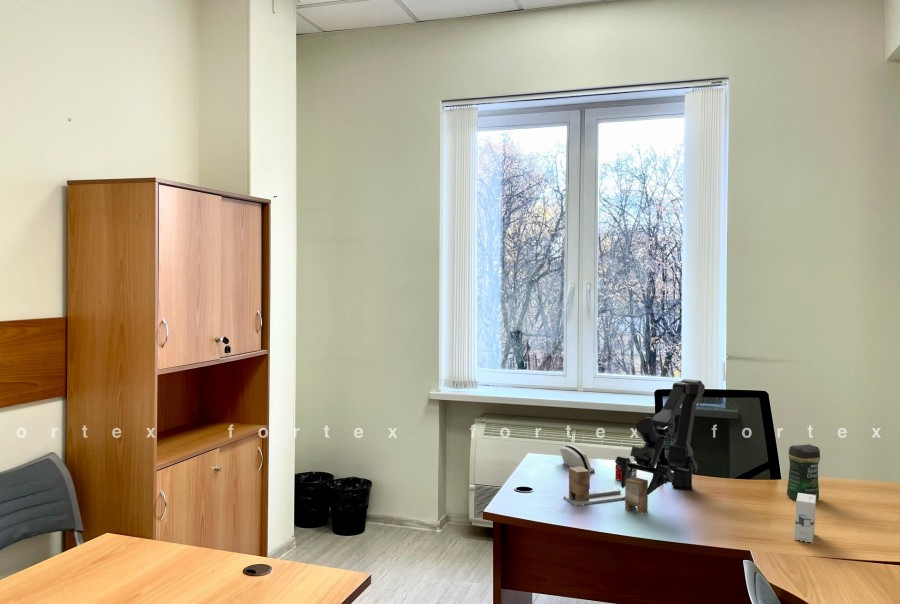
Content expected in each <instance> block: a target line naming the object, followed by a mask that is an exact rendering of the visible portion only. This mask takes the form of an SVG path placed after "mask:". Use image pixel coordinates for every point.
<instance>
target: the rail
mask: <svg viewBox="0 0 900 604" xmlns="http://www.w3.org/2000/svg"><path fill="white" fill-rule="evenodd" d="M606 490H607V489H606ZM606 490H599V491H600V492H598V491H593V492H592V491H591V492H592V493H590V492H589V498H593V497H601V496H608V495H616V494H622V492H621V491H622V490H621V489H619V488H616V489H608V490H607V491H606ZM568 495H569V494H568ZM569 499H570V500H575V495H569Z"/></svg>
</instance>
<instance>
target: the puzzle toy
mask: <svg viewBox="0 0 900 604" xmlns="http://www.w3.org/2000/svg"><path fill="white" fill-rule="evenodd" d="M637 472H638V470H636V469H633V470H632V472H630V473H631V474H632V475H631V476H630V477H636V478H638V476H637V474H638V473H637ZM614 475H615V480H616V479H619V480H621V478H622V472H621V470H620V469H619V467H618V466H617V464H616V463H615V474H614ZM619 480H618V481H619Z"/></svg>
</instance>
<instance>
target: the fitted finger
mask: <svg viewBox="0 0 900 604" xmlns="http://www.w3.org/2000/svg"><path fill="white" fill-rule="evenodd" d="M590 483H591V472H589V471H588V470H586V469H585V468H583V467H581V466H580V467H569V468H568V495H575V501H577V502H580V501H588V500H589V493H590V490H591V487H590V486H591V485H590Z"/></svg>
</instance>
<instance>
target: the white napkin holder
mask: <svg viewBox="0 0 900 604" xmlns="http://www.w3.org/2000/svg"><path fill="white" fill-rule="evenodd" d="M559 451H560V454H561V458H562V461H563V464H565V463H566V464H565V465H567V464H568V465H569V467H570V466H571V467H580V466H581V467H583V468H585V469H586V470H588V471H589V472H590V473H593V472H595V473H596V471H595V468H593V467H592V466H591V464H590V462H589V459H588V457H587V454H586V453H585V452H584V451H583V450H582V449H580V448H579V447H577V446H576V445H573V444H567V445H565V446H563V447H561V448H560V450H559ZM568 465H567V466H568ZM571 467H570V468H571ZM591 471H592V472H591Z"/></svg>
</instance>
